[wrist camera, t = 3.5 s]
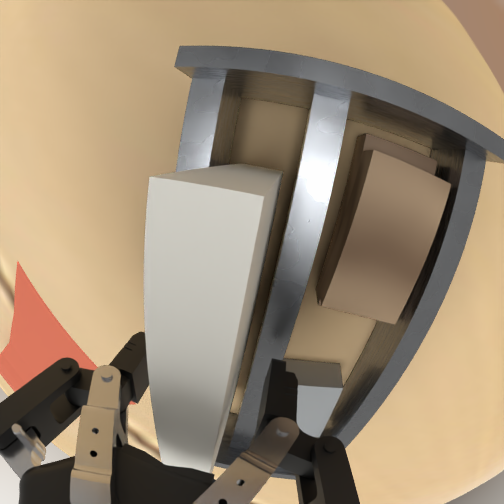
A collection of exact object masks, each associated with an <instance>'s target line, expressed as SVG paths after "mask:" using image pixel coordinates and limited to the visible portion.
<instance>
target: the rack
mask: <svg viewBox="0 0 504 504" xmlns="http://www.w3.org/2000/svg"><path fill="white" fill-rule="evenodd" d="M174 67H176V68H177V69H179V70H180V71H182V72H183V73H185V74H186V75H187V76H189V77H190V78H192V83H191V87H190V92H189V97H188V102H187V107H186V112H185V117H184V123H183V128H182V134H181V140H180V147H179V153H178V160H177V167H176V172H179V171H185V170H192V169H199V168H206V167H214V166H222V165H229V160H230V155H231V149H232V144H233V138H234V133H235V127H236V122H237V117H238V112H239V107H240V102H241V98H249V99H256V100H263V101H269V102H275V103H281V104H286V105H291V106H296V107H301V108H306V109H309V113H308V118H307V123H306V128H305V133H304V138H303V143H302V148H301V153H300V158H299V163H298V168H297V173H296V178H295V182H294V187H293V192H292V196H291V201H290V206H289V210H288V215H287V219H286V224H285V228H284V233H283V237H282V242H281V246H280V250H279V255H278V259H277V263H276V268H275V272H274V276H273V280H272V284H271V289H270V293H269V297H268V301H267V305H266V309H265V313H264V317H263V321H262V325H261V329H260V333H259V337H258V341H257V345H256V349H255V353H254V356H253V360H252V364H251V368H250V372H249V375H248V379H247V383H246V387H245V390H244V394H243V398H242V401H241V405H240V408H239V412H238V414H233V413H229V416H228V419H227V423H226V426H225V430H224V434H223V437H222V441H221V444H220V447H219V451H218V454H217V458H216V461H215V465H214V466H217V467H221V468H226V469H227V468H228V467H229V466H230V465H231V464H232V463H233V462H234V461H235V460H236V459H237V457H238V456H239V455H240V454H241V453H242V452H245V451H246V450H247V449H248V448H249V447H250V446H251V444H252V443H253V442H254V441H255V440H256V439H254V435H255V430H256V425H257V419H258V414H259V408H260V402H261V396H262V391H263V386H264V381H265V378H266V375H267V372H268V369H269V366H270V362H271V359H272V358H274V359H279V360H283V357H284V354H285V352H286V349H287V346H288V343H289V340H290V337H291V334H292V331H293V328H294V325H295V321H296V318H297V315H298V312H299V309H300V306H301V302H302V299H303V296H304V293H305V289H306V286H307V282H308V279H309V276H310V272H311V269H312V265H313V262H314V258H315V254H316V251H317V247H318V243H319V240H320V236H321V232H322V228H323V224H324V220H325V216H326V212H327V208H328V204H329V200H330V196H331V192H332V187H333V183H334V178H335V174H336V169H337V165H338V160H339V155H340V150H341V145H342V140H343V135H344V130H345V125H346V119H350V120H353V121H357V122H360V123H363V124H366V125H370V126H373V127H376V128H379V129H382V130H385V131H388V132H390V133H393V134H396V135H399V136H401V137H404V138H407V139H409V140H412V141H414V142H417V143H419V144H422V145H424V146H426V147H429V148H431V149H432V150H431V155H430V158H431V159H434V160H436V161H437V166H436V170H435V175H434V176H436V177H438V178H440V179H442V180H444V181H446V182H448V183H450V184H451V187H450V191H449V194H448V198H447V201H446V205H445V208H444V211H443V214H442V217H441V220H440V223H439V226H438V229H437V232H436V234H435V237H434V240H433V243H432V245H431V248H430V250H429V253H428V255H427V258H426V260H425V263H424V265H423V267H422V270H421V272H420V274H419V277H418V279H417V281H416V283H415V285H414V288H413V290H412V292H411V294H410V296H409V298H408V300H407V302H406V304H405V306H404V308H403V310H402V312H401V314H400V316H399V318H398V320H397V322H396V323H395V324H391V323H387V322H383V321H377V323H376V326H375V328H374V330H373V332H372V334H371V336H370V338H369V340H368V342H367V344H366V346H365V348H364V350H363V352H362V354H361V356H360V358H359V360H358V362H357V364H356V365H355V367H354V369H353V371H352V373H351V374H350V376H349V378H348V380H347V382H346V383H345V385H344V387H343V390H342V392H341V394H340V396H339V399H338V401H337V403H336V405H335V407H334V409H333V411H332V414H331V416H330V418H329V420H328V422H327V424H326V426H325V428H324V430H323V431H322V433H321V435H320V437H315V438H318V439H319V438H321V437H323V436H333V437H336V438H338V439H339V440H341V442H342V443H343V444H344V447H345V448H346V447H347V446H348V445H349V444H350V443H351V441H352V440H353V439H354V438H355V437H356V436H357V435H358V433H359V432H360V431H361V430H362V429H363V427H364V426H365V425H366V424H367V423H368V421H369V420H370V419H371V418H372V416H373V415H374V414H375V412H376V411H377V410H378V409H379V407H380V406H381V405H382V403H383V402H384V401H385V399H386V398H387V396H388V395H389V394H390V392H391V391H392V389H393V388H394V386H395V385H396V383H397V382H398V381H399V379H400V378H401V376H402V374H403V373H404V371H405V370H406V368H407V367H408V365H409V363H410V362H411V360H412V359H413V357H414V355H415V353H416V352H417V350H418V348H419V347H420V345H421V343H422V341H423V339H424V338H425V336H426V334H427V332H428V330H429V328H430V326H431V325H432V323H433V321H434V319H435V317H436V315H437V313H438V310H439V308H440V306H441V304H442V302H443V300H444V298H445V295H446V293H447V291H448V289H449V286H450V284H451V281H452V279H453V277H454V274H455V272H456V269H457V266H458V264H459V261H460V258H461V256H462V253H463V250H464V247H465V244H466V241H467V238H468V235H469V231H470V228H471V225H472V221H473V218H474V214H475V210H476V206H477V202H478V198H479V194H480V189H481V185H482V180H483V174H484V169H485V163H486V161H490V162H498V163H504V139H503V138H501V137H500V136H498V135H497V134H495V133H494V132H492V131H491V130H489V129H488V128H486V127H485V126H483V125H481V124H480V123H478V122H477V121H475V120H473V119H472V118H470V117H468V116H467V115H465V114H463V113H461V112H459V111H458V110H456V109H454V108H452V107H450V106H448V105H446V104H444V103H442V102H440V101H438V100H436V99H434V98H432V97H430V96H428V95H426V94H424V93H421V92H419V91H417V90H414V89H412V88H410V87H407V86H405V85H402V84H400V83H397V82H395V81H392V80H389V79H387V78H384V77H381V76H378V75H375V74H372V73H369V72H366V71H363V70H360V69H356V68H353V67H349V66H346V65H342V64H338V63H334V62H330V61H326V60H322V59H317V58H313V57H308V56H303V55H297V54H291V53H285V52H279V51H271V50H263V49H254V48H243V47H227V46H180V47H179V51H178V55H177V58H176V62H175V66H174ZM270 477H276V478H285V479H295V480H296V477H295V473H292V472H290V471H287V470H285V469H283V468H280V467H277V468H276V469H275V471H274V472H273V474H272V475H271V476H270Z"/></svg>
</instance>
